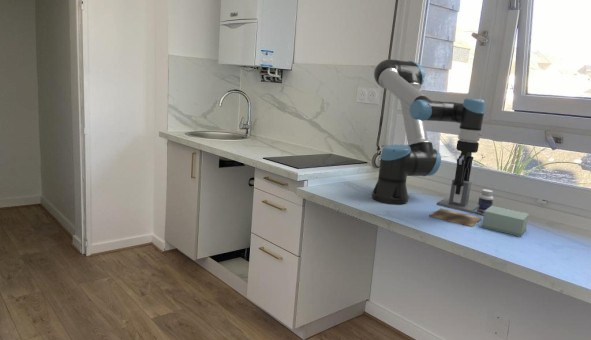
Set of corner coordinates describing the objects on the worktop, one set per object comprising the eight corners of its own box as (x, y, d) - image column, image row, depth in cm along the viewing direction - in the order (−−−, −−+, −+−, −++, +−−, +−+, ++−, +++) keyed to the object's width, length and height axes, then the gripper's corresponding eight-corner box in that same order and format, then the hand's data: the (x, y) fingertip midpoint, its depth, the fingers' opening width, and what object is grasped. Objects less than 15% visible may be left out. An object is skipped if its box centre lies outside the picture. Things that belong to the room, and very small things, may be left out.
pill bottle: (492, 216, 175) (496, 192, 173) (477, 214, 176) (482, 191, 174) (488, 212, 180) (493, 189, 178) (475, 210, 181) (479, 188, 179)
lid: (436, 205, 167) (440, 179, 165) (445, 200, 176) (449, 176, 174) (471, 213, 159) (475, 186, 157) (479, 207, 168) (483, 182, 166)
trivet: (429, 216, 167) (429, 215, 167) (440, 209, 179) (441, 208, 179) (472, 227, 158) (472, 226, 158) (481, 219, 170) (481, 218, 169)
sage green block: (481, 226, 160) (484, 211, 159) (488, 220, 169) (491, 205, 167) (520, 236, 152) (524, 220, 151) (526, 229, 161) (529, 213, 160)
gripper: (472, 143, 153) (462, 207, 158) (484, 140, 167) (474, 199, 172) (451, 140, 158) (441, 202, 162) (464, 138, 171) (455, 195, 176)
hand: (458, 201), depth 167 cm, fingers closed on lid, 4 cm apart
